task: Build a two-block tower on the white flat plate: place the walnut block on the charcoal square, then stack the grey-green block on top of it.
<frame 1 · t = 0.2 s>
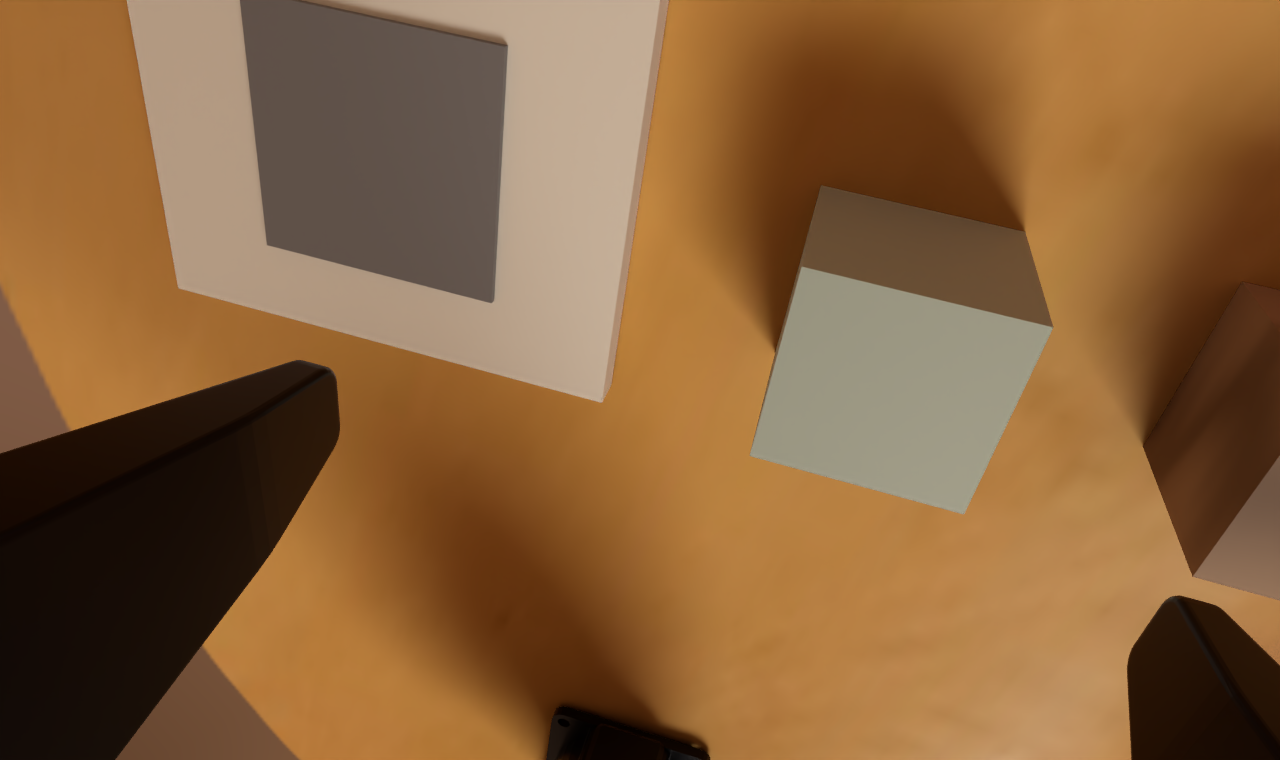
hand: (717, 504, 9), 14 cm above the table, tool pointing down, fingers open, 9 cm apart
grey-green block: (890, 295, 23), on the table
white flat plate: (395, 142, 24), on the table
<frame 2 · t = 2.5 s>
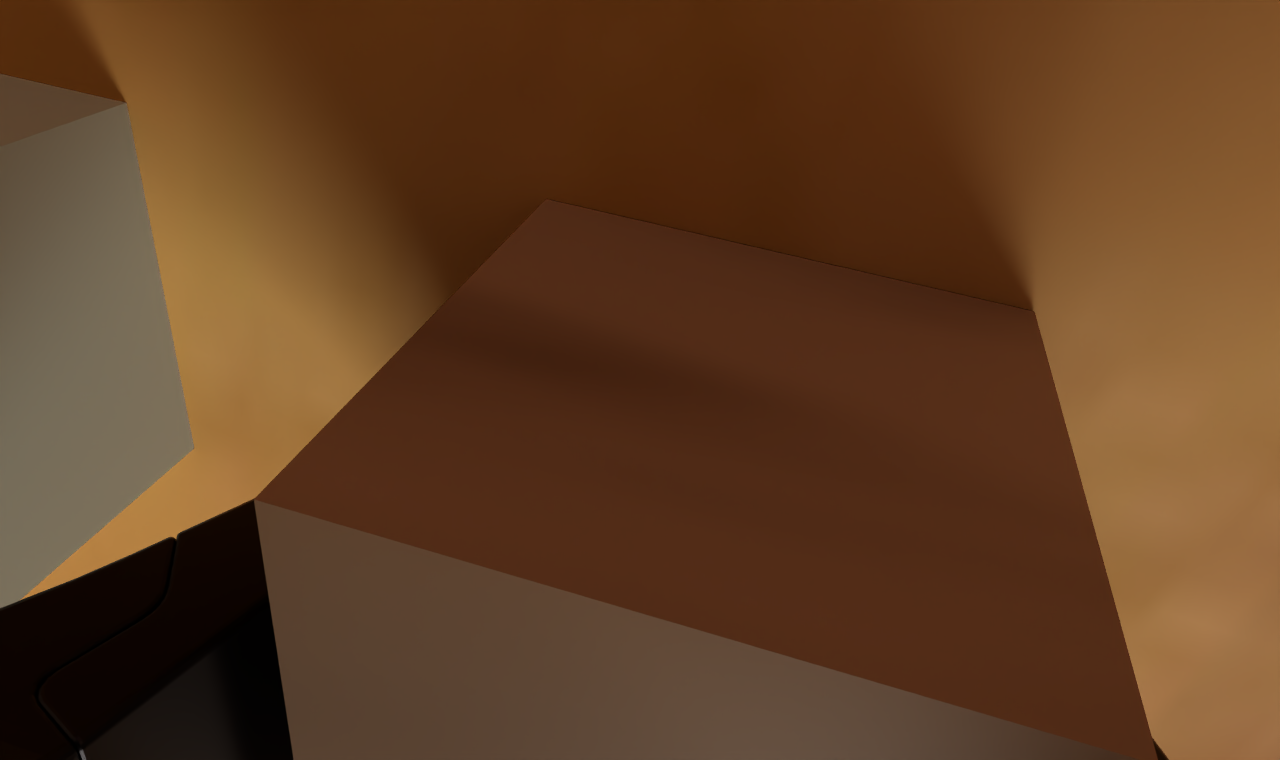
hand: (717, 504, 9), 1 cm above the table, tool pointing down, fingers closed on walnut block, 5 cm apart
grey-green block: (2, 250, 12), on the table
walnut block: (733, 446, 10), on the table, touching gripper
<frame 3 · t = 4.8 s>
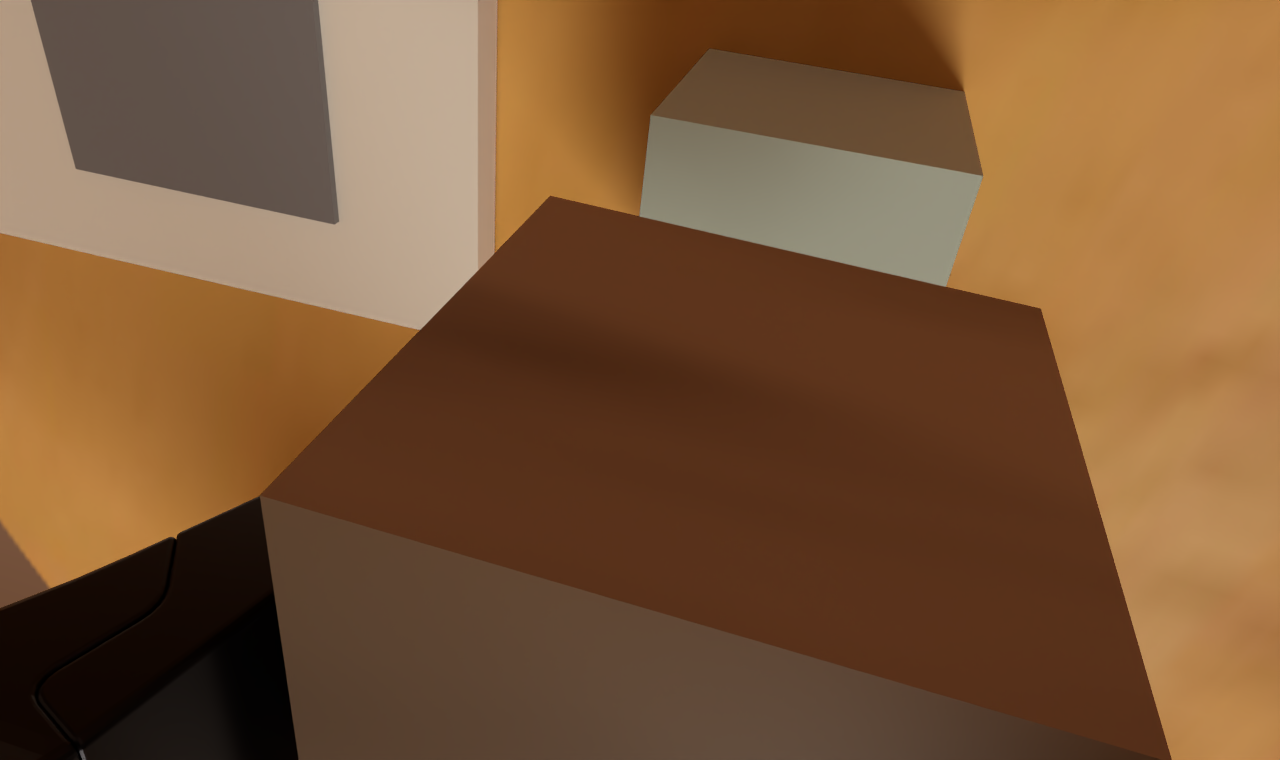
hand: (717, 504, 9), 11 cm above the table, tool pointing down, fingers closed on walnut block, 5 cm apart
grey-green block: (807, 189, 18), on the table
walnut block: (737, 444, 10), point 10 cm above the table, touching gripper
white flat plate: (209, 33, 20), on the table
when the fingers open (4 cm above the table, at t = 7.4 s): walnut block drops 1 cm, resting on white flat plate.
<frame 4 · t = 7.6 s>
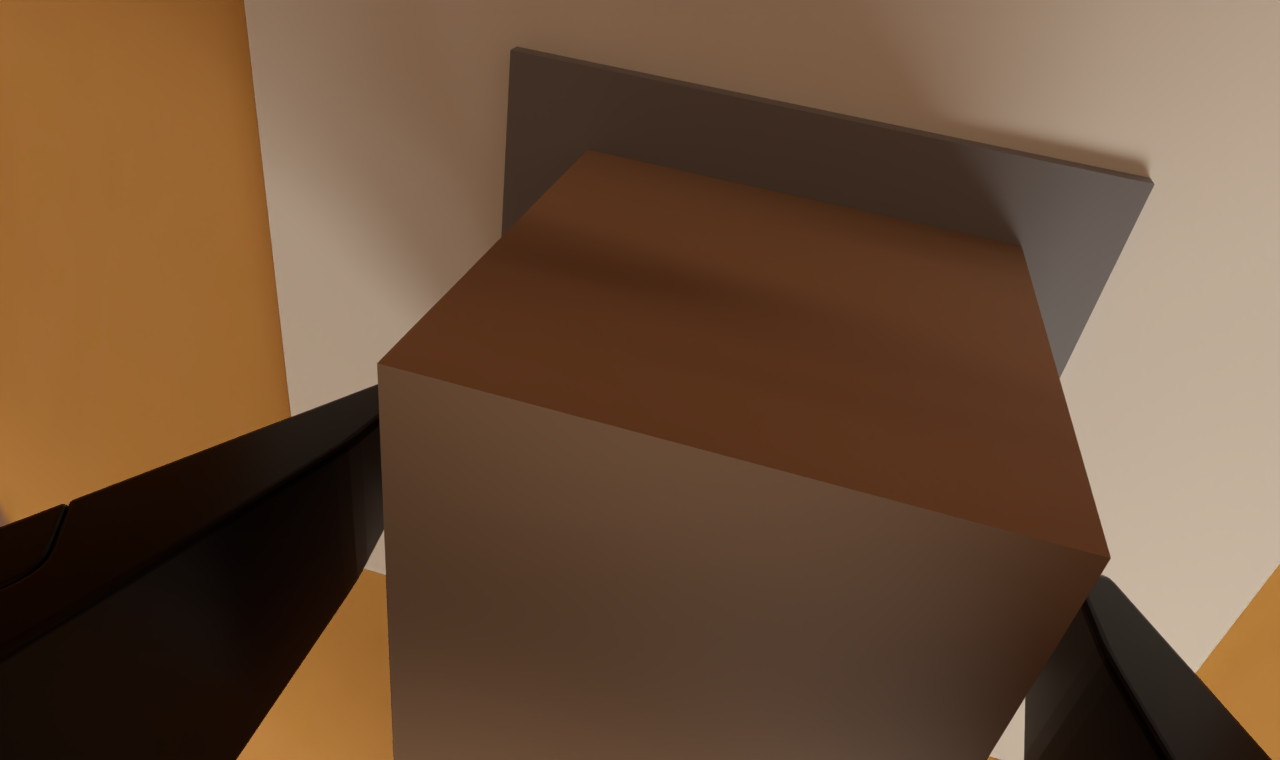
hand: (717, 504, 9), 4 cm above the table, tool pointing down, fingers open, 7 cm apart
walnut block: (752, 377, 11), point 1 cm above the table, touching white flat plate
white flat plate: (762, 336, 12), on the table
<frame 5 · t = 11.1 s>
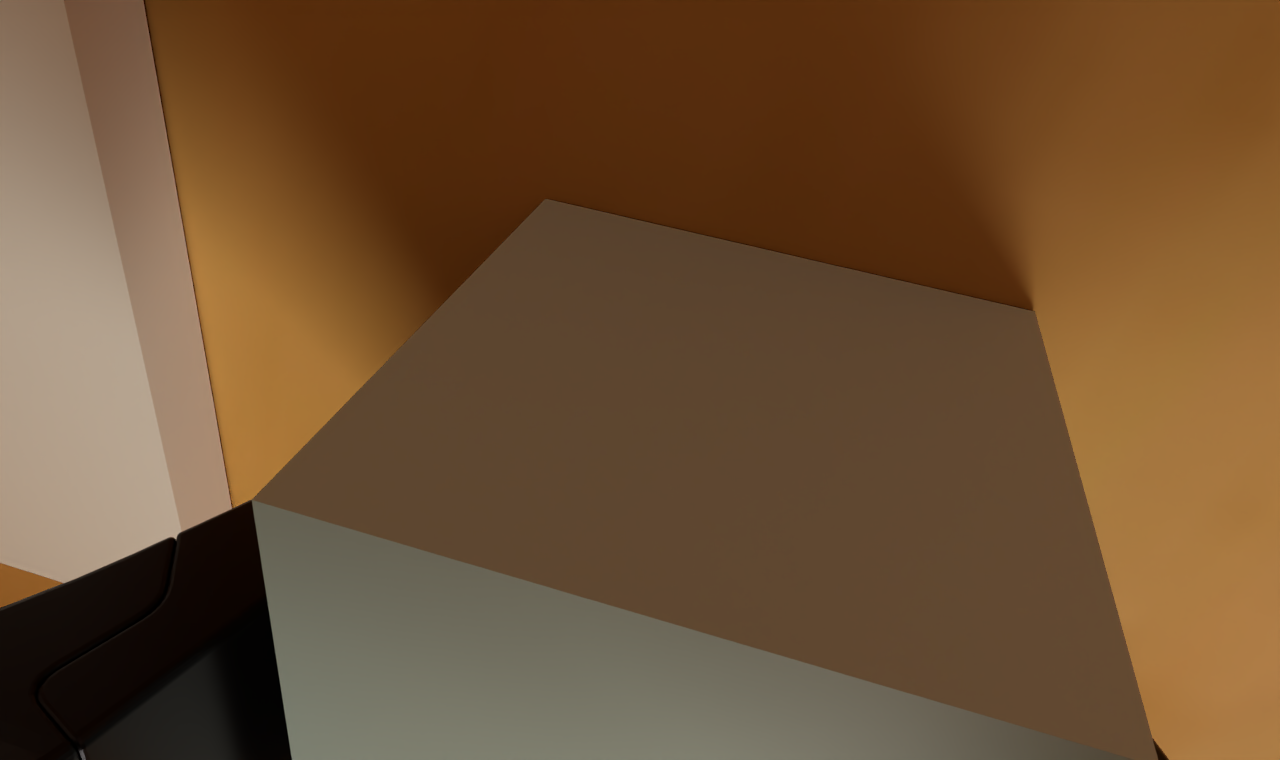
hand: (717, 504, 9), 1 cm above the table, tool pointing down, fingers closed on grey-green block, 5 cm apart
grey-green block: (733, 446, 10), on the table, touching gripper
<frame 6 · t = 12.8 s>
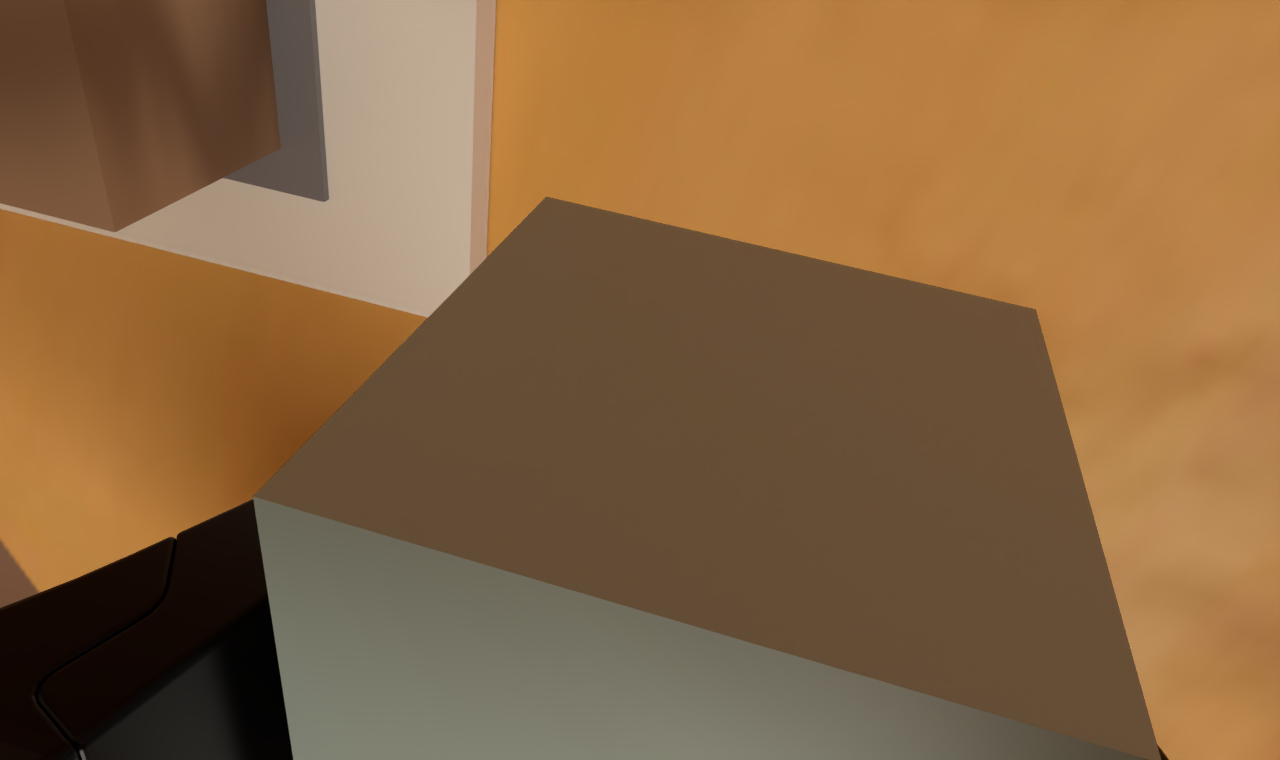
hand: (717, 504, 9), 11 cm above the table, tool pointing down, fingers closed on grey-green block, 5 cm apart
grey-green block: (733, 444, 10), point 10 cm above the table, touching gripper
walnut block: (162, 9, 18), point 1 cm above the table, touching white flat plate
white flat plate: (200, 3, 19), on the table
when the fingers open (9 cm above the table, at t = 14.6 s): grey-green block drops 1 cm, resting on walnut block.
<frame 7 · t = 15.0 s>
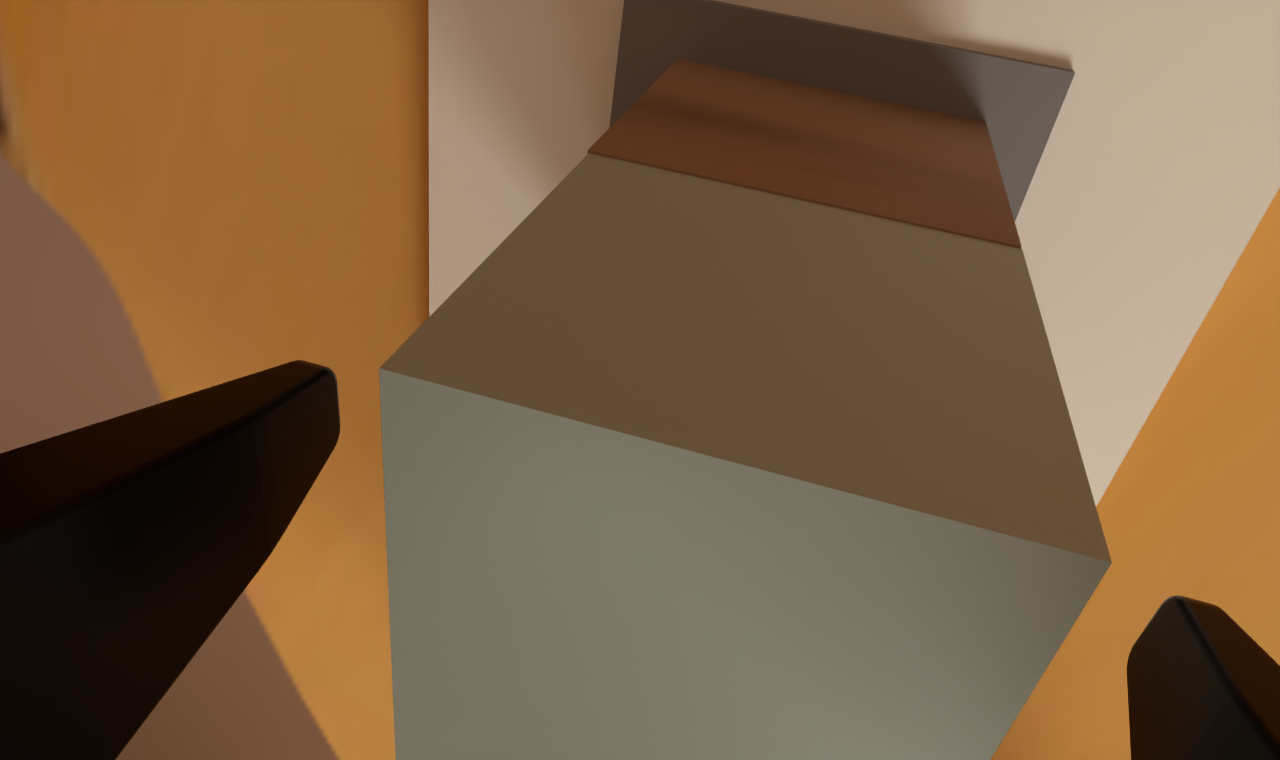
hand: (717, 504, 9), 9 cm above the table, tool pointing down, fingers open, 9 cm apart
grey-green block: (753, 379, 11), point 6 cm above the table, touching walnut block
walnut block: (792, 231, 15), point 1 cm above the table, touching white flat plate, grey-green block
white flat plate: (797, 210, 16), on the table
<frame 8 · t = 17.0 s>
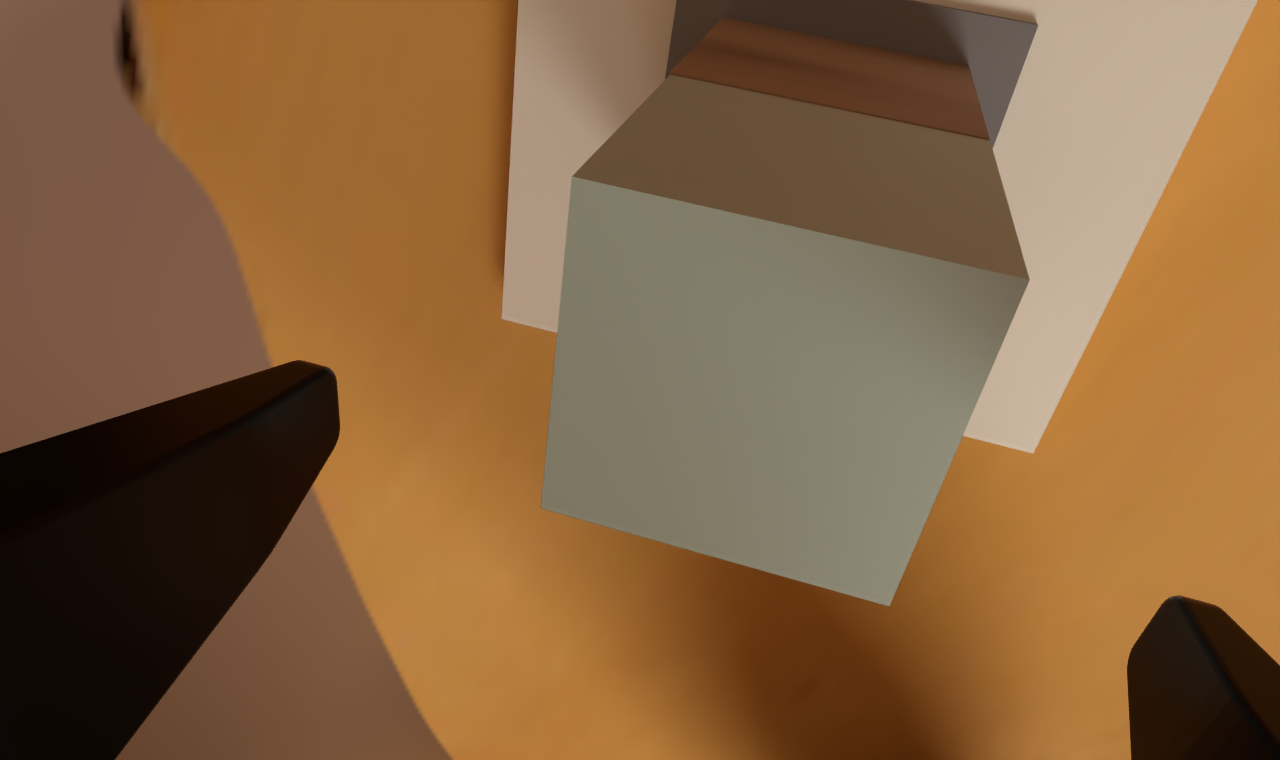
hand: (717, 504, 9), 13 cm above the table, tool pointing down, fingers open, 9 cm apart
grey-green block: (789, 252, 15), point 6 cm above the table, touching walnut block
walnut block: (813, 160, 19), point 1 cm above the table, touching white flat plate, grey-green block
white flat plate: (816, 146, 20), on the table
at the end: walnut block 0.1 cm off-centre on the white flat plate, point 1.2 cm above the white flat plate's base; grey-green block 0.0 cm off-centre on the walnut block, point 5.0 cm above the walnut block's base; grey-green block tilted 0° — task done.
